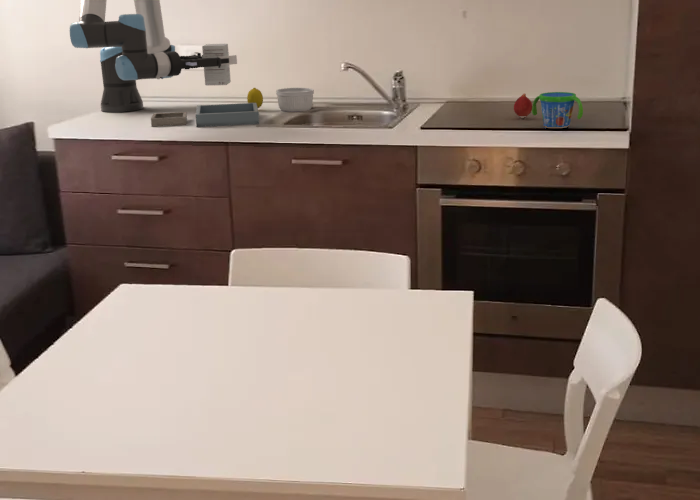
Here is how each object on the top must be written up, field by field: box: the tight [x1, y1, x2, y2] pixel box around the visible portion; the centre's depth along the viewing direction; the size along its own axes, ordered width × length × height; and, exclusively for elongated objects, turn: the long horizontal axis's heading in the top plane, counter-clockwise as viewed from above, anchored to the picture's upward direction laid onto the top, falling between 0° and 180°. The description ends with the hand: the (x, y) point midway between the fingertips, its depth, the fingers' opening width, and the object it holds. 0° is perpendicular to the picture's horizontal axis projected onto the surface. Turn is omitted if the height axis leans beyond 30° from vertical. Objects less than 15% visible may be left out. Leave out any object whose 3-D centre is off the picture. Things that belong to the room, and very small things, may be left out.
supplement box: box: [201, 43, 232, 86], centre depth 286 cm, size 7×7×13 cm
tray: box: [195, 102, 260, 128], centre depth 292 cm, size 20×20×4 cm
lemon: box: [246, 87, 264, 109], centre depth 310 cm, size 6×6×8 cm
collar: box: [150, 111, 188, 127], centre depth 291 cm, size 11×11×2 cm
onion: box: [513, 93, 533, 117], centre depth 279 cm, size 6×6×8 cm
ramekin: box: [275, 87, 315, 113], centre depth 310 cm, size 13×13×7 cm
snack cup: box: [531, 91, 584, 127], centre depth 261 cm, size 16×10×10 cm
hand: (228, 58), depth 288 cm, fingers closed on supplement box, 10 cm apart
